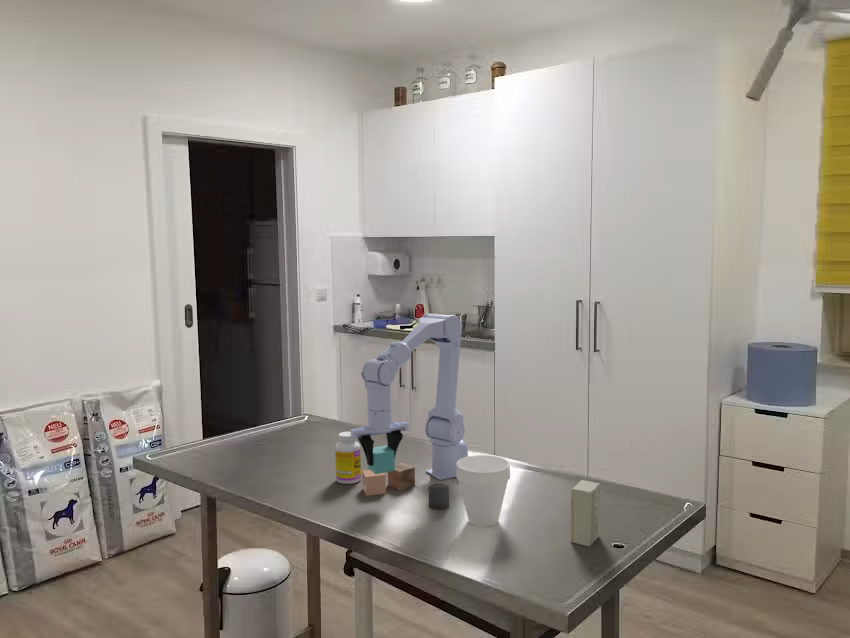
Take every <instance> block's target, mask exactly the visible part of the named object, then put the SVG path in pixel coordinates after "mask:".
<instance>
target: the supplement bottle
mask: <svg viewBox="0 0 850 638" xmlns="http://www.w3.org/2000/svg"><path fill="white" fill-rule="evenodd" d="M356 440H357V439H353V438H351V431H342V432H340V433H338V441H339V442H337V443H336V445H335V448H334V449H335V450H334V452H335V480H336V482H337V483H338V484H344V485H353V484H356V483H358V482H360V481H361V480H362V464H361V462H362V461H361V460H362V459H361V443H360V442H359V441H358V442H357V441H356Z"/></svg>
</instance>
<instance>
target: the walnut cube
mask: <svg viewBox="0 0 850 638" xmlns="http://www.w3.org/2000/svg"><path fill="white" fill-rule="evenodd" d="M415 469H416V468H415V466H413V465H410V464H407V463H404V462H400V463H397V464H396V463H395V471H390V472H387V483H388V484H387V485H388V486H389V487H392V488H394V489H396V490H399V491H401V490H404V489H408V488H411V487H414V486H416V477H415V476H416V472H415V471H416V470H415Z"/></svg>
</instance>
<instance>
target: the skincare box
mask: <svg viewBox="0 0 850 638" xmlns="http://www.w3.org/2000/svg"><path fill="white" fill-rule="evenodd" d="M570 500H571V503H570V506H571V508H570V515H571V516H570V543H573V544H577V545H581V546H584V547H585V546H586V547H590V546H592V544H593V543H594V542H595V541H596V540H598V538H599V536H600V515H601V514H600V507H601V505H600V504H601V482H597V481H596V482H595V481H590V480H585V479H581V480H579V481H578V482H577V483H576V484H575V485H574V486H572V488H571V499H570Z"/></svg>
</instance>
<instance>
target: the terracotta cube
mask: <svg viewBox="0 0 850 638" xmlns="http://www.w3.org/2000/svg"><path fill="white" fill-rule="evenodd" d="M361 480H362V481H361V483H362V486H361V487H362V490H363V492H364V494H365V496H368V497H369V496H376V495H385V494H386V493H387V492H386V490H387V489H386V488H387V486H386V485H387V484H386V474H385V473H380V474H375V473H374V472H372V471H371V470H370V469H367V470H366V469H364V470H361Z"/></svg>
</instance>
